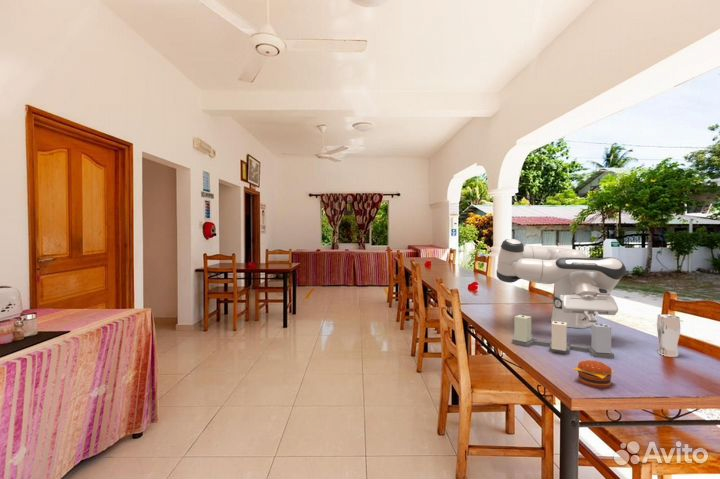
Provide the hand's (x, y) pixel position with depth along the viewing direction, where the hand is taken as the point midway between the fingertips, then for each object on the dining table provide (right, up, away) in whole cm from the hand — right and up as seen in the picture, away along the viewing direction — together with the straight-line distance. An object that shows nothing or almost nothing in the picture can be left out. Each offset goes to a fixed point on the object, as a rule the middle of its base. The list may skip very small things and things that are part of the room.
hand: (592, 321), depth 149 cm
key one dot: (-26, -9, +7) cm, 28 cm away
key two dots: (-16, -10, -4) cm, 19 cm away
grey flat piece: (-13, -11, +1) cm, 17 cm away
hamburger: (-20, -12, -32) cm, 40 cm away
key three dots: (-2, -9, -8) cm, 13 cm away
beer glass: (+24, -11, -8) cm, 28 cm away
